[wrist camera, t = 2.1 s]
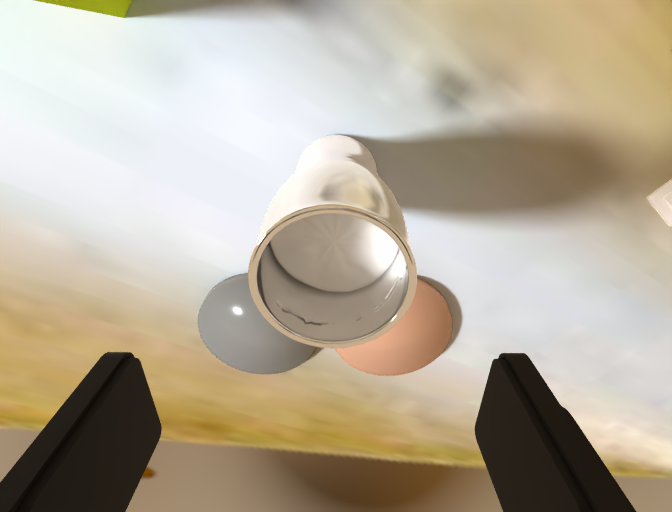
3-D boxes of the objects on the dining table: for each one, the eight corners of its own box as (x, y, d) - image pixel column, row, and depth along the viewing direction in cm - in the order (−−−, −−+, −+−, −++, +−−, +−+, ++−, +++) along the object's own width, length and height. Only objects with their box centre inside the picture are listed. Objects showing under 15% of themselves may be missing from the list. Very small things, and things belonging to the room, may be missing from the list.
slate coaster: (318, 273, 31) (318, 279, 30) (320, 367, 37) (320, 374, 36) (191, 272, 31) (187, 278, 31) (211, 366, 37) (208, 373, 36)
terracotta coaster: (458, 274, 31) (461, 281, 30) (440, 368, 36) (443, 376, 36) (330, 273, 31) (330, 279, 30) (330, 367, 37) (330, 375, 36)
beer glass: (335, 105, 25) (329, 156, 12) (402, 175, 27) (460, 284, 14) (271, 177, 27) (206, 286, 14) (337, 235, 30) (334, 377, 16)
